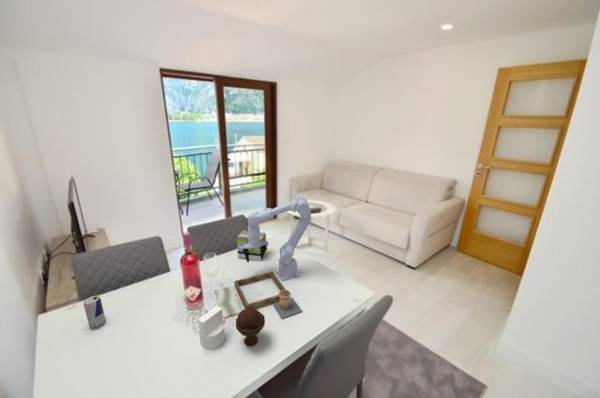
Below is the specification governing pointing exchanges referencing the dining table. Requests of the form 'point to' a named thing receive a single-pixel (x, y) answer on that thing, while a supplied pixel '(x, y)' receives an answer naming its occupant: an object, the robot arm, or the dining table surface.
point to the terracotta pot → (284, 299)
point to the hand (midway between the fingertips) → (254, 259)
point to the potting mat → (291, 311)
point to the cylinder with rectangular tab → (212, 329)
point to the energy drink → (94, 312)
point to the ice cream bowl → (250, 325)
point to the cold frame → (230, 302)
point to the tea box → (253, 252)
